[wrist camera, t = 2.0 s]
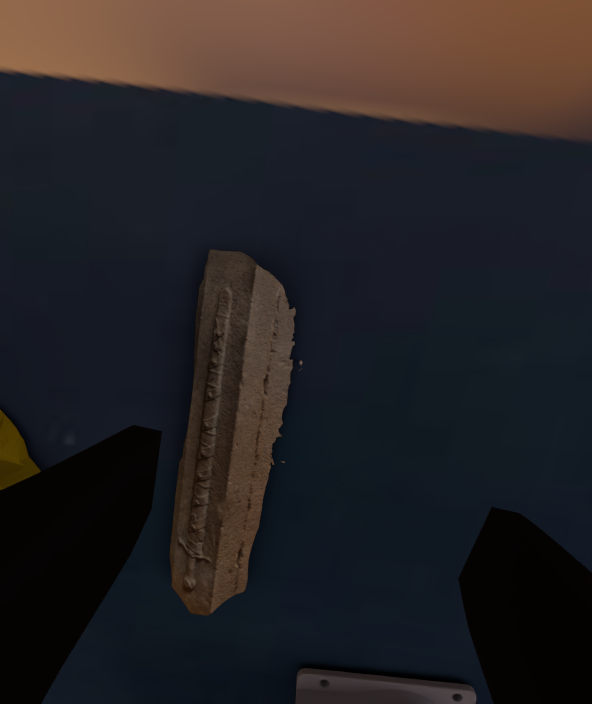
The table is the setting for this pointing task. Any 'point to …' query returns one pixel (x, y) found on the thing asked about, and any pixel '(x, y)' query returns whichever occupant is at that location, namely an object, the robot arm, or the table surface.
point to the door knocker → (13, 455)
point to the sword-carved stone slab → (229, 427)
